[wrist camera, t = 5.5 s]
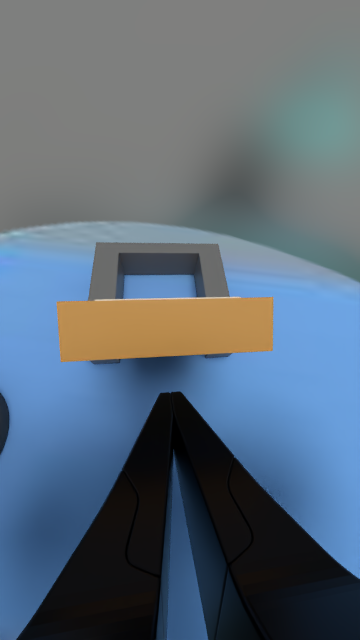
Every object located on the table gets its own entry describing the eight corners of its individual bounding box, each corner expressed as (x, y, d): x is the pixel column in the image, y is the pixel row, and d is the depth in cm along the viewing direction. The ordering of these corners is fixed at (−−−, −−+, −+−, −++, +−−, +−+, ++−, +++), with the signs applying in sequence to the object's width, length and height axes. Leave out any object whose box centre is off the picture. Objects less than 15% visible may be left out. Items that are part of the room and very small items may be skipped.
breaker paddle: (197, 321, 17) (272, 352, 6) (125, 324, 16) (61, 363, 5) (196, 301, 17) (273, 295, 6) (125, 303, 16) (56, 299, 5)
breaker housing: (227, 356, 17) (241, 344, 14) (94, 364, 16) (79, 352, 13) (210, 265, 22) (218, 242, 19) (104, 265, 20) (95, 240, 17)
